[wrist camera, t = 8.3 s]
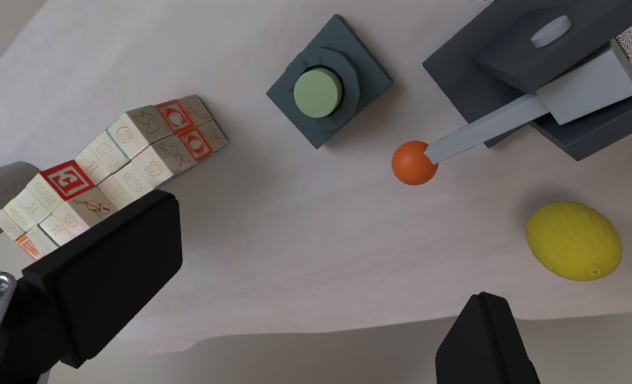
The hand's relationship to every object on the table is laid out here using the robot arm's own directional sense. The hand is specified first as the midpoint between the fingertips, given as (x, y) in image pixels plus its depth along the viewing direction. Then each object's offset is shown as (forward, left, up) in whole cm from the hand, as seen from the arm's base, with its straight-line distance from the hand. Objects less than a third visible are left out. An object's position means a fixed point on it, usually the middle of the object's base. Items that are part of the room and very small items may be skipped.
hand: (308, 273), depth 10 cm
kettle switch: (-4, -7, -14) cm, 16 cm away
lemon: (-17, -6, -22) cm, 28 cm away
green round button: (+5, +1, -19) cm, 19 cm away
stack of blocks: (+13, +23, -22) cm, 35 cm away
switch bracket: (-4, -11, -22) cm, 24 cm away
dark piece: (+5, +1, -22) cm, 22 cm away
